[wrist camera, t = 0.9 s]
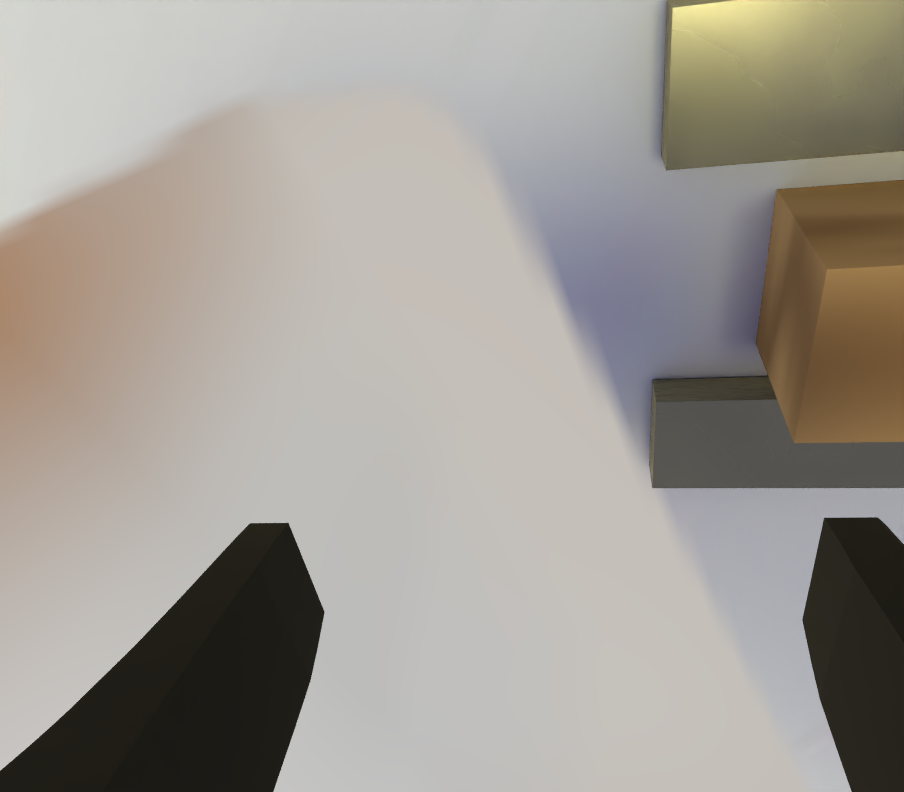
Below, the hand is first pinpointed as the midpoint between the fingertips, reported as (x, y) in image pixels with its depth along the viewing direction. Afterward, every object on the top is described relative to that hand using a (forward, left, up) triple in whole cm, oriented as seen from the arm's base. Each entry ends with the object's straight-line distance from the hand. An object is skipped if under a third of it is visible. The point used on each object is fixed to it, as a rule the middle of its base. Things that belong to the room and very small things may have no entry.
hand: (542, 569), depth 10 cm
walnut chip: (0, -7, -10) cm, 12 cm away
